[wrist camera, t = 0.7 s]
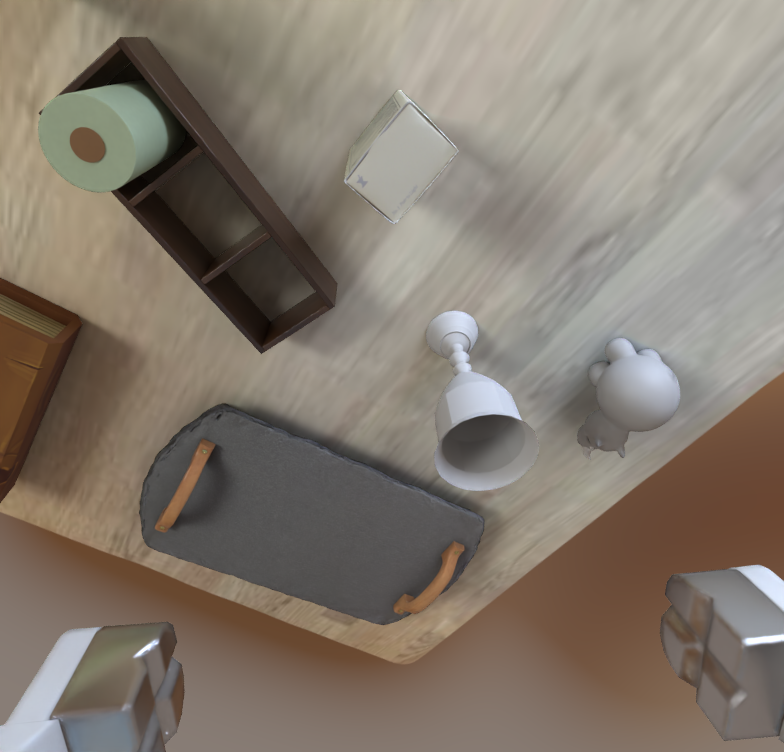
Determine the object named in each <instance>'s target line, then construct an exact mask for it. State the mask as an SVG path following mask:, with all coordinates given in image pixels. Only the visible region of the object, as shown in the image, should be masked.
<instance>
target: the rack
mask: <svg viewBox="0 0 784 752" xmlns="http://www.w3.org/2000/svg"><path fill="white" fill-rule="evenodd" d="M131 62H132V63H133V64H134V66H135V67H136V68H137V69H138V71H139V72H140V73H141V74H142V76H143V77H144V78H145V79H146V80H147V82H148V83H149V84H150V85H151V87H152V88H153V89H154V90H155V92H156V93H157V94H158V95H159V97H160V98H161V99H162V100H163V102H164V103H165V104H166V105H167V107H168V108H169V109H170V110H171V112H172V113H173V114H174V115H175V117H176V118H177V119H178V120H179V122H180V123H181V124H182V125H183V127H184V128H185V129H186V130H187V132H188V133H189V134H190V135H191V137H192V138H193V139H194V140H195V142H196V143H197V144H198V146H196V147H195V148H194V149H193V150H191V151H190V152H189V153H188V154H186V155H185V156H184V157H183V158H182V159H180V160H179V161H178V162H177V163H175V164H174V165H173V166H172V167H170V168H169V169H168V170H167V171H165V172H164V173H163V174H162V175H161V176H159V177H158V178H157V179H156V180H154V181H153V182H152V183H151V184H148V183H147V182H146V180H145V179H144V178H143V177H142V176H141V175H139V176H138V177H136V178H135V179H133V180H131V181H130V182H128V183H126V184H125V185H123V186H122V187H120V188H118V189H116V190H113V191H111V192H112V193H113V194H114V195H115V196H116V197H117V198H118V200H119V201H120V202H121V203H122V204H123V205H124V206H125V207H126V208H127V209H128V210H129V211H130V213H131V214H132V215H133V216H134V217H135V218H136V219H137V220H138V221H139V222H140V223H141V224H142V225H143V227H144V228H145V229H146V230H147V231H148V232H149V233H150V234H151V235H152V236H153V237H154V238H155V240H156V241H157V242H158V243H159V244H160V245H161V246H162V247H163V248H164V249H165V250H166V251H167V253H168V254H169V255H170V256H171V257H172V258H173V259H174V260H175V261H176V262H177V263H178V264H179V265H180V267H181V268H182V269H183V270H184V271H185V272H186V273H187V274H188V275H189V276H190V277H191V278H192V280H193V281H194V282H195V283H196V284H197V285H198V286H199V287H200V288H201V289H202V290H203V291H204V293H205V294H206V295H207V296H208V297H209V298H210V299H211V300H212V301H213V302H214V303H215V304H216V305H217V307H218V308H219V309H220V310H221V311H222V312H223V313H224V314H225V315H226V316H227V317H228V318H229V320H230V321H231V322H232V323H233V324H234V325H235V326H236V327H237V328H238V329H239V330H240V331H241V333H242V334H243V335H244V336H245V337H246V338H247V339H248V340H249V341H250V342H251V343H252V344H253V345H254V347H255V348H256V349H257V350H258V351H259V352H260V353H261V354H262V353H264V352H265V351H267V350H268V349H270V348H271V347H273V346H274V345H276V344H278V343H279V342H281V341H282V340H284V339H285V338H287V337H288V336H290V335H291V334H293V333H295V332H296V331H298V330H299V329H301V328H302V327H304V326H305V325H307V324H308V323H310V322H312V321H313V320H315V319H316V318H318V317H319V316H321V315H322V314H324V313H325V312H327V311H329V310H330V309H332V308H333V307H335V300H336V291H337V282H336V281H335V280H334V279H333V277H332V276H331V275H330V273H329V272H328V271H327V269H326V268H325V267H324V266H323V264H322V263H321V262H320V260H319V259H318V258H317V257H316V255H315V254H314V253H313V251H312V250H311V249H310V247H309V246H308V245H307V244H306V242H305V241H304V240H303V238H302V237H301V236H300V235H299V233H298V232H297V231H296V229H295V228H294V227H293V225H292V224H291V223H290V222H289V220H288V219H287V218H286V216H285V215H284V214H283V213H282V211H281V210H280V209H279V207H278V206H277V205H276V203H275V202H274V201H273V200H272V198H271V197H270V196H269V194H268V193H267V192H266V191H265V189H264V188H263V187H262V185H261V184H260V183H259V181H258V180H257V179H256V178H255V176H254V175H253V174H252V172H251V171H250V170H249V169H248V167H247V166H246V165H245V163H244V162H243V161H242V159H241V158H240V157H239V156H238V154H237V153H236V152H235V150H234V149H233V148H232V147H231V145H230V144H229V143H228V141H227V140H226V139H225V137H224V136H223V135H222V134H221V132H220V131H219V130H218V128H217V127H216V126H215V125H214V123H213V122H212V121H211V119H210V118H209V117H208V116H207V114H206V113H205V112H204V110H203V109H202V108H201V106H200V105H199V104H198V103H197V101H196V100H195V99H194V97H193V96H192V95H191V94H190V92H189V91H188V90H187V88H186V87H185V86H184V84H183V83H182V82H181V81H180V79H179V78H178V77H177V75H176V74H175V73H174V72H173V70H172V69H171V68H170V66H169V65H168V64H167V62H166V61H165V60H164V59H163V57H162V56H161V55H160V53H159V52H158V51H157V50H156V48H155V47H154V46H153V44H152V43H151V42H150V40H149V39H148V38H147V37H120V38H119V39H118V40H117V41H116V42H115V43H114V44H113V45H111V46H110V47H109V48H108V49H107V50H106V51H105V52H104V53H103V54H102V55H101V56H100V57H99V58H97V59H96V60H95V61H94V62H93V63H92V64H91V65H90V66H89V67H88V68H87V69H86V70H84V71H83V72H82V73H81V74H80V75H79V76H78V77H77V78H76V79H75V80H74V81H73V82H71V83H70V84H69V85H68V86H67V87H66V88H65V89H64V90H63V91H62V92H61V93H60V94H59V95H57V96H56V97H58V96H60V95H63V94H67V93H72V92H77V91H82V90H88V89H93V88H98V87H103V86H105V85H106V84H107V83H109V82H110V81H111V80H112V79H113V78H114V77H115V76H116V75H117V74H119V73H120V72H121V71H122V70H123V69H124V68H125V67H126V66H127V65H129V64H130V63H131ZM56 97H55V98H56ZM44 108H45V107H44ZM42 111H43V109H42V110H41V111H40V112H39V114H40V115H41V113H42ZM203 152H204V153H205V154H206V155H207V156H208V158H209V159H210V160H211V161H212V163H213V164H214V165H215V166H216V168H217V169H218V170H219V171H220V173H221V174H222V175H223V176H224V178H225V179H226V180H227V181H228V183H229V184H230V185H231V186H232V188H233V189H234V190H235V191H236V193H237V194H238V195H239V196H240V198H241V199H242V200H243V201H244V203H245V204H246V205H247V206H248V208H249V209H250V210H251V211H252V212H253V214H254V215H255V216H256V217H257V219H258V220H259V221H260V222H261V224H262V225H261V226H259V227H258V228H257V229H255V230H254V231H252V232H251V233H250V234H248V235H247V236H246V237H244V238H243V239H241V240H240V241H239V242H237V243H236V244H235V245H233V246H232V247H230V248H229V249H228V250H226V251H225V252H224V253H222V254H221V255H219V256H218V257H217V258H215V259H214V258H213V256H212V255H211V254H210V253H209V252H208V251H207V250H206V249H205V247H204V246H203V245H202V244H201V243H200V242H199V241H198V239H197V238H196V237H195V236H194V235H193V234H192V233H191V231H190V230H189V229H188V228H187V227H186V226H185V225H184V224H183V222H182V221H181V220H180V219H179V218H178V217H177V216H176V214H175V213H174V212H173V211H172V210H171V209H170V208H169V207H168V205H167V204H166V203H165V202H164V201H163V200H162V199H161V197H160V196H159V195H158V194H157V193H156V192H155V191H156V190H157V189H159V188H160V187H161V186H162V185H164V184H165V183H166V182H167V181H169V180H170V179H171V178H172V177H174V176H175V175H176V174H177V173H179V172H180V171H181V170H182V169H184V168H185V167H186V166H187V165H189V164H190V163H191V162H192V161H193V160H195V159H196V158H197V157H198V156H200V155H201V154H202V153H203ZM271 237H273V239H274V240H275V241H276V242H277V244H278V245H279V246H280V247H281V249H282V250H283V251H284V252H285V254H286V255H287V256H288V257H289V259H290V260H291V261H292V262H293V264H294V265H295V266H296V267H297V269H298V270H299V271H300V272H301V274H302V275H303V276H304V277H305V278H306V280H307V281H308V282H309V283H310V285H311V286H312V287H313V288H314V290H315V291H316V292H315V293H313V294H312V295H310V296H309V297H307V298H306V299H304V300H303V301H301V302H300V303H298V304H297V305H295V306H294V307H292V308H291V309H289V310H288V311H286V312H285V313H283V314H282V315H280V316H279V317H277V318H276V319H274V320H273V321H271V322H270V321H269V320H268V319H267V318H266V317H265V315H264V314H263V313H262V312H261V311H260V310H259V309H258V307H257V306H256V305H255V304H254V303H253V302H252V301H251V300H250V298H249V297H248V296H247V295H246V294H245V293H244V292H243V290H242V289H241V288H240V287H239V286H238V285H237V284H236V283H235V281H234V280H233V279H232V278H231V277H230V276H229V275H228V273H227V272H226V271H225V270H226V269H227V268H229V267H230V266H232V265H233V264H234V263H236V262H237V261H239V260H240V259H241V258H243V257H244V256H246V255H247V254H248V253H250V252H251V251H253V250H254V249H255V248H257V247H258V246H260V245H261V244H262V243H264V242H265V241H267V240H268V239H269V238H271Z"/></svg>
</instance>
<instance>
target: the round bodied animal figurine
mask: <svg viewBox="0 0 784 752" xmlns="http://www.w3.org/2000/svg"><path fill="white" fill-rule="evenodd" d="M605 356H606V358H607V359H608V360H609V361H610V362H611V364H610V363H608V362H605V361H601V362H597V363H595V364H593V365H592V366H591V367H590V368H589V370H588V378H589V380H590V382H591V383H592V384H593V385H594V386H595V387H597V391H596V394H597V401H598V405H599V407H600V410H597V411H594V412H593V413H591V414H590V415H589V416H588V417H587V419H586V421H585V424H584V425H582V426H581V427H580V428H579V430H578V433H577V438H578V439H577V441H578V443H579V444H581V445H582V451H583V454H584V456H585V457H586V458H588V459H590V460H591V458H590V453H591V451H593V450H594V449H600V450H603V451H617V452H618V453H619V455H620V456H621V457H622V458H624V456H625V449H624V444H625V442H626V441H627V439H628V434H629V431H635V432H643V431H649V430H653V429H656V428H658V427H660V426H662V425H663V424H665V423H666V422H667V421H668V420H669V419H670V418H671V417H672V416H673V415H674V413H675V411H676V410H677V407H678V405H679V401H680V387H679V383H678V380H677V378H676V376H675V375H674V372H673V371H672V370H671V369H670V368H669V367H668V366H666V365H665V364H664V363H662V360H661V358H660V356H659V354H658V353H657V352H656V351H654V350H652V349H644V350H640V351H638V352H637V353H636V351H635V349H634V347H633V346H632V344H631V343H630V342H629V341H628V340H626V339H625V338H615V339H613V340H611V341H610V342H609V343H608V344H607V345H606V346H605Z"/></svg>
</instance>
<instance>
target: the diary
mask: <svg viewBox="0 0 784 752" xmlns="http://www.w3.org/2000/svg"><path fill="white" fill-rule="evenodd" d="M81 326H82V322H81V320H80V319H79V317H78V315H76V314H74V313H72V312H70V311H68V310H66V309H64V308H62V307H60V306H57V305H55V304H53V303H51V302H49V301H47V300H45V299H43V298H41V297H39V296H37V295H35V294H33V293H30V292H28V291H26V290H24V289H22V288H20V287H18V286H16V285H14V284H12V283H10V282H8V281H6V280H4V279H1V278H0V503H1V501H2V500H3V499H4V498H5V496H6V495H7V494H8V493H9V491H10V490H11V489H12V487H13V486H14V485H15V482H16V480H17V478H18V475H19V473H20V471H21V468H22V466H23V463H24V461H25V459H26V456H27V454H28V452H29V449H30V447H31V444H32V442H33V440H34V437H35V435H36V433H37V430H38V428H39V425H40V423H41V421H42V418H43V416H44V414H45V411H46V409H47V406H48V404H49V402H50V399H51V397H52V395H53V392H54V390H55V387H56V385H57V383H58V380H59V378H60V376H61V373H62V371H63V368H64V366H65V364H66V361H67V359H68V357H69V354H70V352H71V349H72V347H73V345H74V342H75V340H76V338H77V335H78V333H79V330H80V328H81Z"/></svg>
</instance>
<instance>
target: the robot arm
mask: <svg viewBox="0 0 784 752" xmlns="http://www.w3.org/2000/svg"><path fill="white" fill-rule="evenodd" d="M665 595H666V597H667V598H668V600H669V601H670V602H671V604H672V605H671V606H670V607H669V608H668V610H667V611H666V612H665V613H664V614H663V616H662V617H661V627H660V636H661V641H662V645H663V650H664V653H665V655H666V657H667V659H668V661H669V663H670V665H671V666H672V668H673V669H674V671H675V672H676V674H677V675H678V677H679V678H681V679H682V680H684V681H686V682H687V683H689V684H690V685H692V686H694V687H696V688H697V691H696V693H697V694H696V702H697V704H698V705H699V707H700V708H701V709H702V711H703V712H704V713H705V715H706V716H707V718H708V719H709V721H710V722H711V723H712V725H713V726H714V727H715V729H716V730H717V732H718V733H719V734H720V736H721V737H722V739H723V740H724V741H728V740H740V739H751V738H761V737H762V738H763V737H773V736H779V740H780V741H782V742H783V743H784V582H783V581H782V580H781V579H780V578H779V577H778V576H777V575H775V574H774V573H773V572H772V571H771V570H770V569H767V568H765V567H763V566H761V565H754V566H744V567H735V568H730V569H722V570H712V571H702V572H693V573H683V574H673V575H672V576H671V577H670V579H669V580H668V581H667V585H666V592H665ZM176 643H177V640H176V636H175V631H174V627H173V625H172V624H171V623H169V622H159V623H145V624H131V625H117V626H104V627H101V628H100V627H99V628H84V629H70V630H68V631H67V632H66V633H64V634H63V635H61V637H60V638H59V640H58V641H57V643H56V644H55V646H54V647H53V649H52V650H51V652H50V654H49V655H48V657H47V658H46V660H45V662H44V663H43V665H42V666H41V668H40V669H39V671H38V673H37V674H36V676H35V677H34V679H33V681H32V682H31V684H30V685H29V687H28V689H27V690H26V692H25V694H24V695H23V696H22V698H21V700H20V701H19V703H18V704H17V706H16V708H15V709H14V711H13V712H12V714H11V715H10V717H9V719H8V720H7V722H6V723H5V725H0V752H166V750H165V744H166V743H167V741H169V740H170V739H171V738H172V737H173V736H174V735H175V733H176V732H177V729H178V726H179V722H180V719H181V715H182V708H183V700H184V675H183V670H182V665H181V664H180V663H179V662H178V661H177V660H176V659H174V658H173V657H172V655H173V652H174V649H175V646H176Z"/></svg>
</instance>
